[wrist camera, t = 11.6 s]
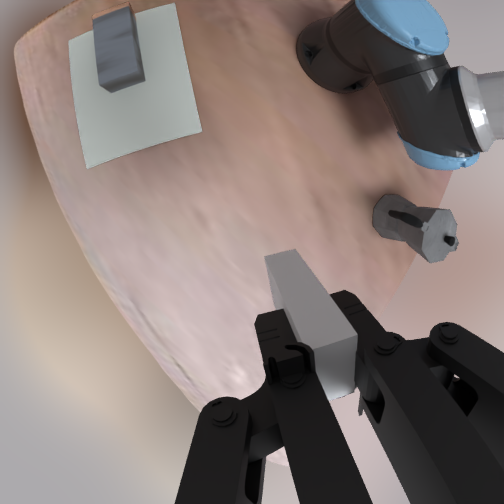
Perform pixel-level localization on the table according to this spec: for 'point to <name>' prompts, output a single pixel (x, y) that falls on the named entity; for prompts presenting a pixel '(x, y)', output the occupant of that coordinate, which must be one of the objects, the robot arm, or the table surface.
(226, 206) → the table surface
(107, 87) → the slate block
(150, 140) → the sage mat
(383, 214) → the coffeepot
